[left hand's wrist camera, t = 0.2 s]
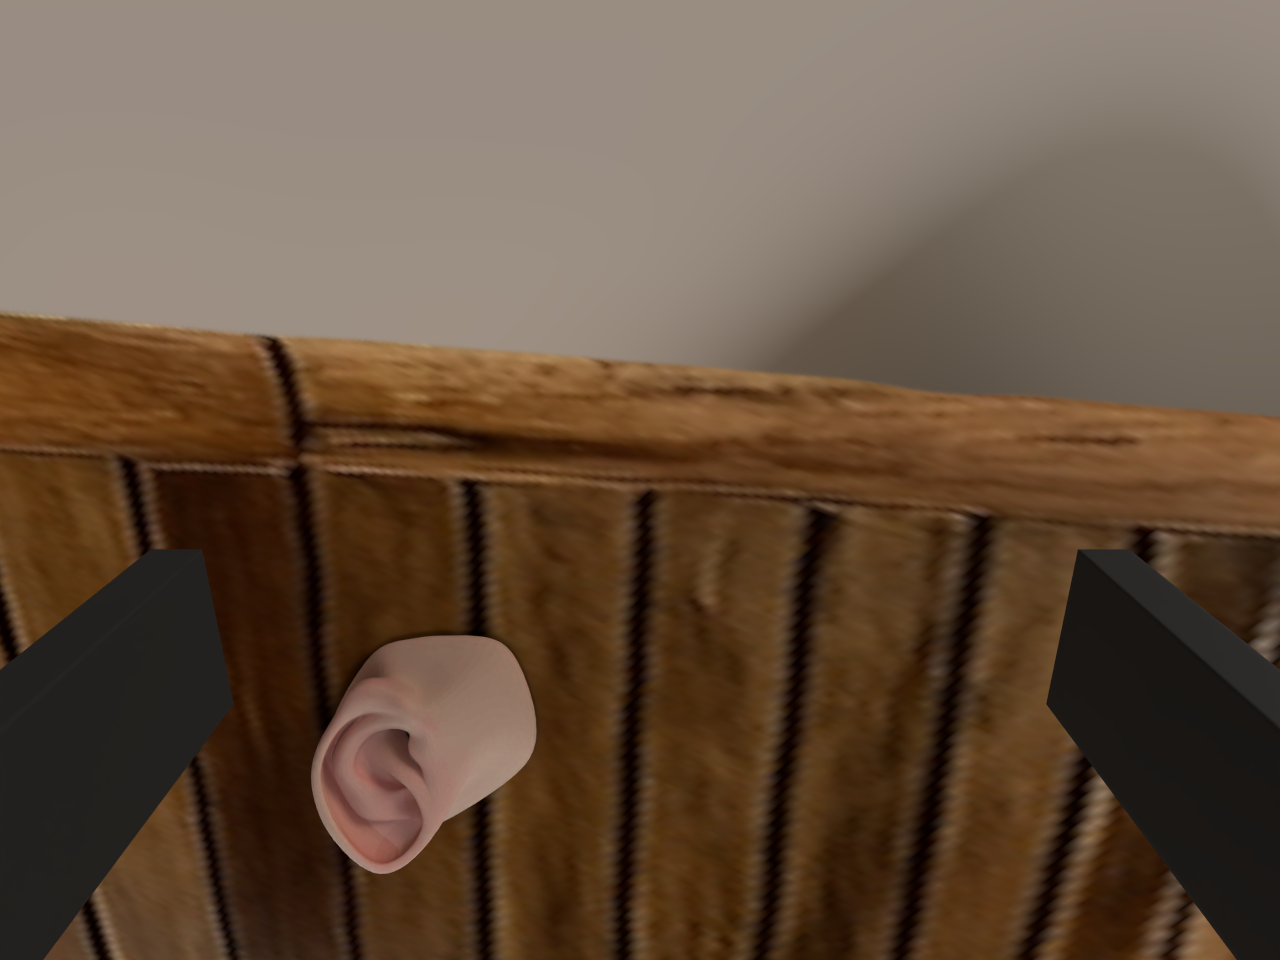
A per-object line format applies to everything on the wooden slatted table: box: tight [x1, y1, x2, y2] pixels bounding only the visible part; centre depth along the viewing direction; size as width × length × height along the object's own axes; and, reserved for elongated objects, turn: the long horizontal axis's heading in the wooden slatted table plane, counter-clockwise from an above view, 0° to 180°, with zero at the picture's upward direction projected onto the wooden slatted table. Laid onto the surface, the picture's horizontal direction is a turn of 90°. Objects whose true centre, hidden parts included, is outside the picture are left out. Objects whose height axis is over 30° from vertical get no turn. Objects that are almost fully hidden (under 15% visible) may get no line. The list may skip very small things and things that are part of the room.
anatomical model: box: [311, 635, 536, 874], centre depth 45 cm, size 13×4×12 cm
